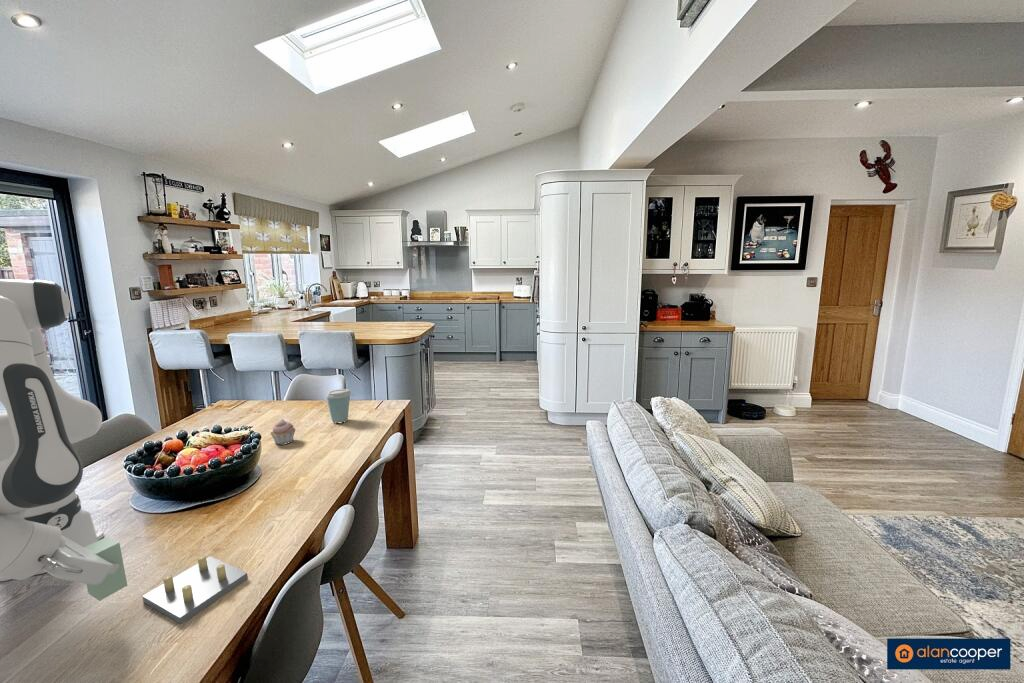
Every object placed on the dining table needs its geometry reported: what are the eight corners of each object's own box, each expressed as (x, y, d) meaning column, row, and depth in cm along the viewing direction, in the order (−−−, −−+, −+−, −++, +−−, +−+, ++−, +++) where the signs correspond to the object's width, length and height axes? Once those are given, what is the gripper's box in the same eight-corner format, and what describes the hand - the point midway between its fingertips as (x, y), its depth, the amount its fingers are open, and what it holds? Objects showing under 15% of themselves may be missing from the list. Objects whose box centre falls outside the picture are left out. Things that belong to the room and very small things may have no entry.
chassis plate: (143, 602, 92) (139, 583, 92) (211, 561, 105) (208, 545, 104) (181, 624, 87) (177, 604, 86) (247, 578, 99) (245, 561, 98)
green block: (88, 593, 86) (79, 549, 84) (116, 578, 90) (107, 536, 88) (99, 601, 84) (90, 556, 82) (127, 585, 88) (119, 542, 86)
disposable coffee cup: (323, 422, 197) (320, 391, 194) (344, 415, 206) (341, 385, 203) (337, 427, 191) (334, 395, 188) (357, 420, 200) (355, 389, 197)
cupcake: (302, 438, 179) (299, 415, 178) (286, 447, 170) (284, 424, 169) (282, 436, 181) (279, 414, 179) (266, 446, 172) (263, 422, 170)
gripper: (70, 548, 73) (146, 562, 84) (19, 518, 82) (94, 534, 92) (39, 589, 70) (122, 598, 81) (-11, 553, 79) (71, 565, 89)
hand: (107, 564), depth 87 cm, fingers closed on green block, 4 cm apart
